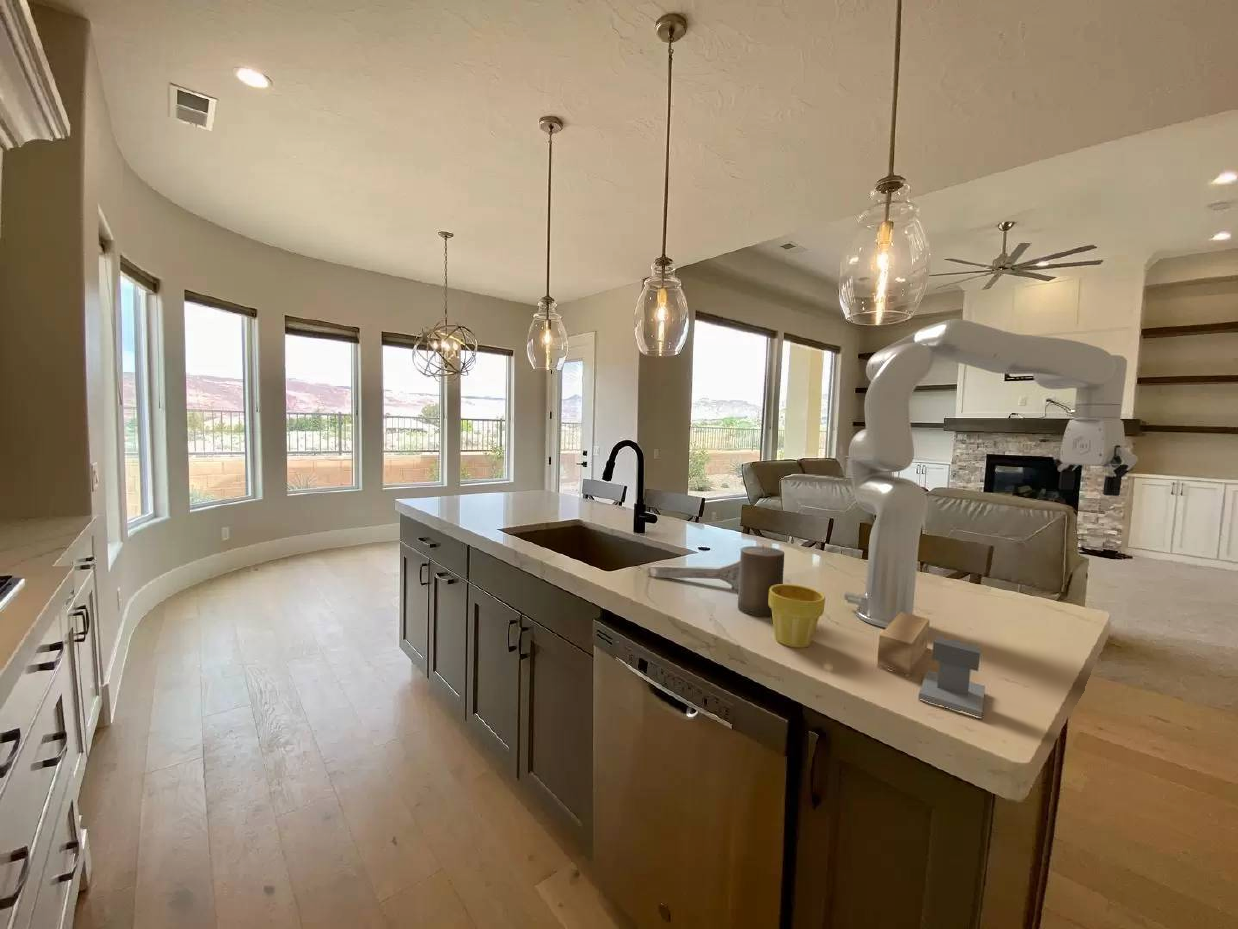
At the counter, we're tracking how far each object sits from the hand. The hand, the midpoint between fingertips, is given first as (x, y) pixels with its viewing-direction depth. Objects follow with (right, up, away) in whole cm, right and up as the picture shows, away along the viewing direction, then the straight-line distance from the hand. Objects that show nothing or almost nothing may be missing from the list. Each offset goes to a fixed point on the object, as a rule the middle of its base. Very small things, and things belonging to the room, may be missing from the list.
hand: (1087, 492), depth 112 cm
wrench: (-81, -26, +23) cm, 88 cm away
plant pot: (-68, -29, -12) cm, 75 cm away
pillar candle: (-71, -27, +5) cm, 76 cm away
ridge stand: (-50, -31, -31) cm, 66 cm away
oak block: (-50, -30, -17) cm, 61 cm away
